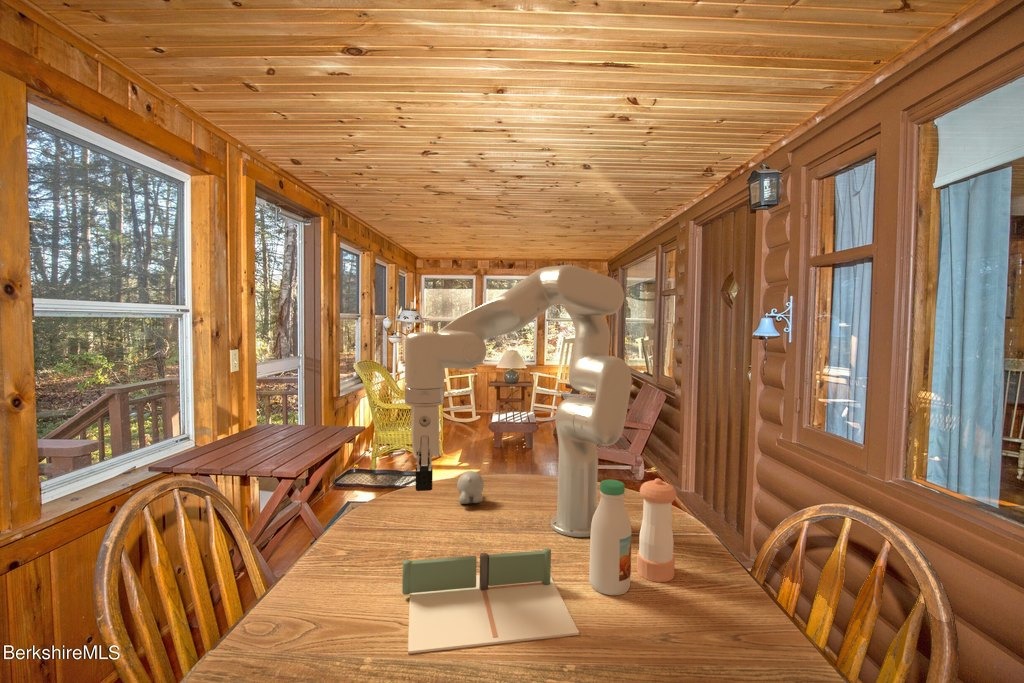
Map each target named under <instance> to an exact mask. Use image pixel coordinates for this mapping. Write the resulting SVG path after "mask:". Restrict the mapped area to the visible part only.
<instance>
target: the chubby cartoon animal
mask: <svg viewBox="0 0 1024 683" xmlns="http://www.w3.org/2000/svg"><path fill="white" fill-rule="evenodd" d="M456 483H457V484H456V487H457V491H458V493H459V494H460V495H459V499H458V503H459V504H462V505H467V504H469V503H472V504H480V503H482V502H483V501H484V497H483V494H482V492H483V490H484V487H485V484H484V479H483V477H482V475H481V474H479V473H478V472H477V471H472V470H469V471H465V472H463V473H462V474H461V475H460V476H459V478H458V480H457V482H456Z"/></svg>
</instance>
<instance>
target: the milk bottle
mask: <svg viewBox="0 0 1024 683" xmlns="http://www.w3.org/2000/svg"><path fill="white" fill-rule="evenodd" d="M625 489H626V486H625V483H624V482H623V481H620V480H617V479H603V480H601V481H600V484H599V494H600V498H599V500H600V501H598V502H599V503H598V504H597V509H596V511H595V513H594V515H593V518H592V523H591V536H589V537H590V541H589V542H590V544H589V569H588V570H589V571H588V573H589V575H588V576H589V578H588V579H589V585H590V586H591V588H592V589H593V590H595V591H596V592H598V593H600V594H603V595H606V596H620V595H623V594H625V593H627V592H628V591H629V589H630V587H631V574H632V571H631V570H632V569H631V568H632V523H631V520H630V517H629V513H628V512H627V509H626V506H625V503H624V497H625Z"/></svg>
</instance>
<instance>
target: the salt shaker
mask: <svg viewBox="0 0 1024 683" xmlns="http://www.w3.org/2000/svg"><path fill="white" fill-rule="evenodd" d="M639 494H640V496H641V498H642V499H643V506H642V507H643V508H642V520H641V525H640V531H639V534H638V535H639V540H638V541H639V546H638V547H639V550H638V551H637V554H636V555H637V556H636V557H637V558H636V572H637V573H638V574H637V575H638V576H640V577H641V578H644V579H645V580H649V581H652V582H656V583H662V582H663V583H664V582H669V581H672V580H673V578H674V577H675V562H676V561H675V556H674V543H675V542H674V533H673V526H672V525H673V524H672V511H673V510H672V508H673V506H672V504H673V503H674V502H675V500H676V498H677V492H676V489H675V488H674V486H673V485H672V484H670V483H667V482H666V481H664V480H662V479H660V478H658V477H657V478H655V479H654V480H653V479H652V480H648V481H645V482H643V483H642V484H641V486H640V488H639Z"/></svg>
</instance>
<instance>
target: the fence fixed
mask: <svg viewBox="0 0 1024 683" xmlns="http://www.w3.org/2000/svg"><path fill="white" fill-rule="evenodd" d="M551 570H552V549H551V548H548V547H547V548H542V550H532V551H522V552H508V553H496V554H495V553H494V554H493V553H492V554H491V553H490V554H489V553H486V552H482V553H480V555H479V575H480V587H479V589H480V590H481V591H482V590H488V586H497V585H509V584H520V583H531V582H542V583H543V585H550V577H551V578H552V576H551Z"/></svg>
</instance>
